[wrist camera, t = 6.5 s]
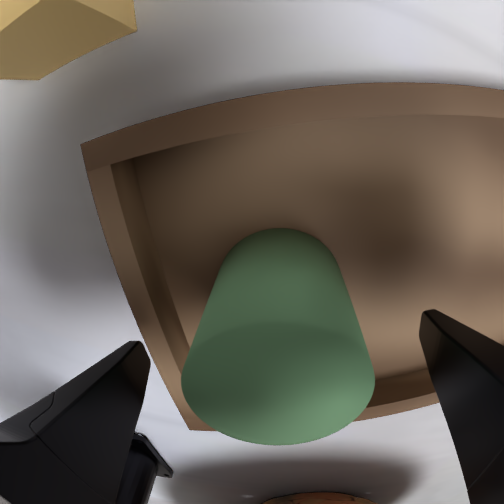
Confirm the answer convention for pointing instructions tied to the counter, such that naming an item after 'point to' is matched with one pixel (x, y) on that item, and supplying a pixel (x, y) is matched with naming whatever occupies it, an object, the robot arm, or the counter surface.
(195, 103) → the counter surface
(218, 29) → the counter surface
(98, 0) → the cheddar cube
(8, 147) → the counter surface
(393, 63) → the counter surface
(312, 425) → the cucumber chunk
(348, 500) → the bowl
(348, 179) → the serving tray
